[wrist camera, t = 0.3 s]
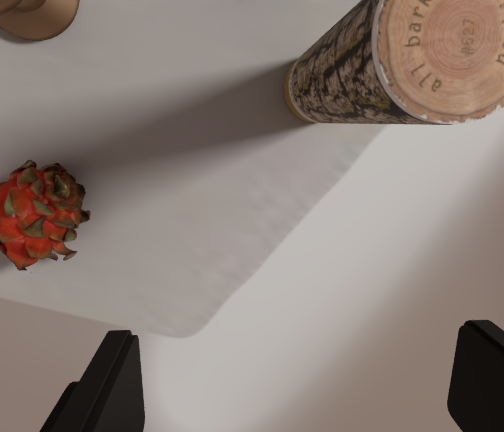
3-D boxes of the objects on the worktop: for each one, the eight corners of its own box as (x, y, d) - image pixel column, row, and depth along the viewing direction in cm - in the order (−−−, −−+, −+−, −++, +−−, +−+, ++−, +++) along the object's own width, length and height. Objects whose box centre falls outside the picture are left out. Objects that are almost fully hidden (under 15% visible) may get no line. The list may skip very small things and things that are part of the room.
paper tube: (283, 125, 39) (373, 130, 14) (280, 55, 37) (377, -71, 13) (347, 120, 39) (539, 119, 15) (347, 51, 37) (565, -79, 13)
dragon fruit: (91, 155, 40) (56, 241, 44) (-2, 130, 34) (-32, 233, 38) (111, 197, 34) (69, 291, 38) (4, 176, 28) (-32, 291, 32)
